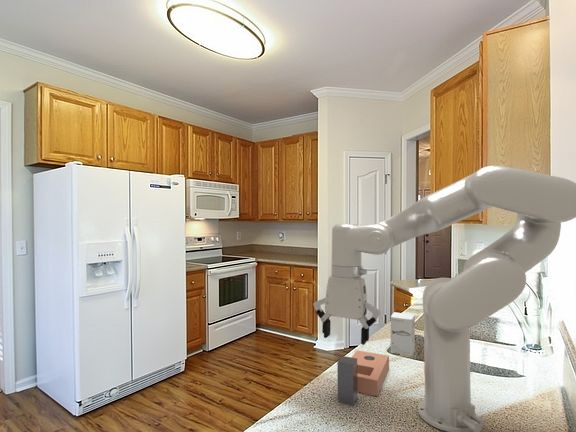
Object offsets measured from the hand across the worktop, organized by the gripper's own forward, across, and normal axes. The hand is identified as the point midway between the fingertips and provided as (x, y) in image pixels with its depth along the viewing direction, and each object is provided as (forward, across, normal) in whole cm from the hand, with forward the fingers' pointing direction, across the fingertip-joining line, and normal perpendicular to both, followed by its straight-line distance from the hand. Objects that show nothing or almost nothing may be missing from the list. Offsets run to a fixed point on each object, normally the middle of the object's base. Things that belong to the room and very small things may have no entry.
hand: (345, 339), depth 83 cm
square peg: (+15, -1, 0) cm, 15 cm away
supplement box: (+15, -9, -40) cm, 43 cm away
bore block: (+15, -2, -14) cm, 21 cm away
